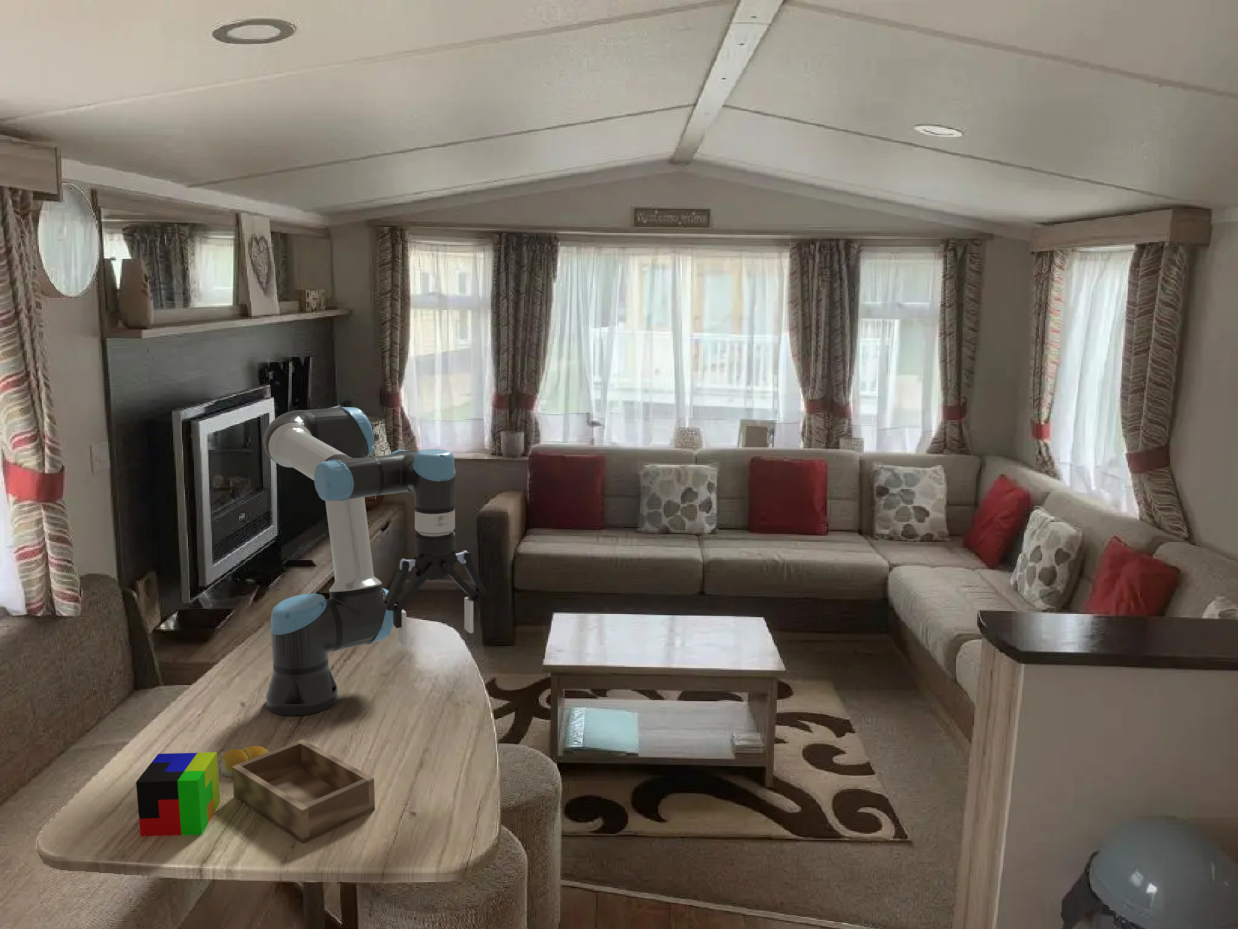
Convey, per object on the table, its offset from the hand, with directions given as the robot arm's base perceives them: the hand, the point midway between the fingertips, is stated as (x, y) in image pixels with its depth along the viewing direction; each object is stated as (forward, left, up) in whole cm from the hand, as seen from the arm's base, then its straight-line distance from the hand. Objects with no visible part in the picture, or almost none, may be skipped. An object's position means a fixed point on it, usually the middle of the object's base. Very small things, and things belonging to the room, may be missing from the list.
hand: (436, 636), depth 193 cm
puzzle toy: (-14, -45, -25) cm, 54 cm away
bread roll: (-23, -28, -25) cm, 44 cm away
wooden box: (-3, -28, -24) cm, 37 cm away
